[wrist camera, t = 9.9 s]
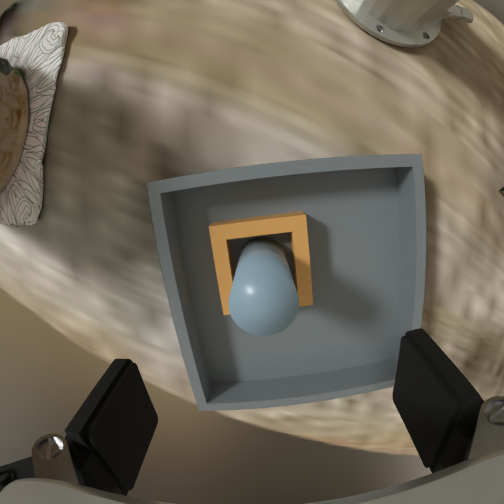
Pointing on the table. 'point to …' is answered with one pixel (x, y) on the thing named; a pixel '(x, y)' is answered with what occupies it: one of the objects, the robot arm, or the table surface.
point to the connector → (263, 289)
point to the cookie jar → (26, 118)
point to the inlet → (256, 227)
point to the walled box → (322, 276)
